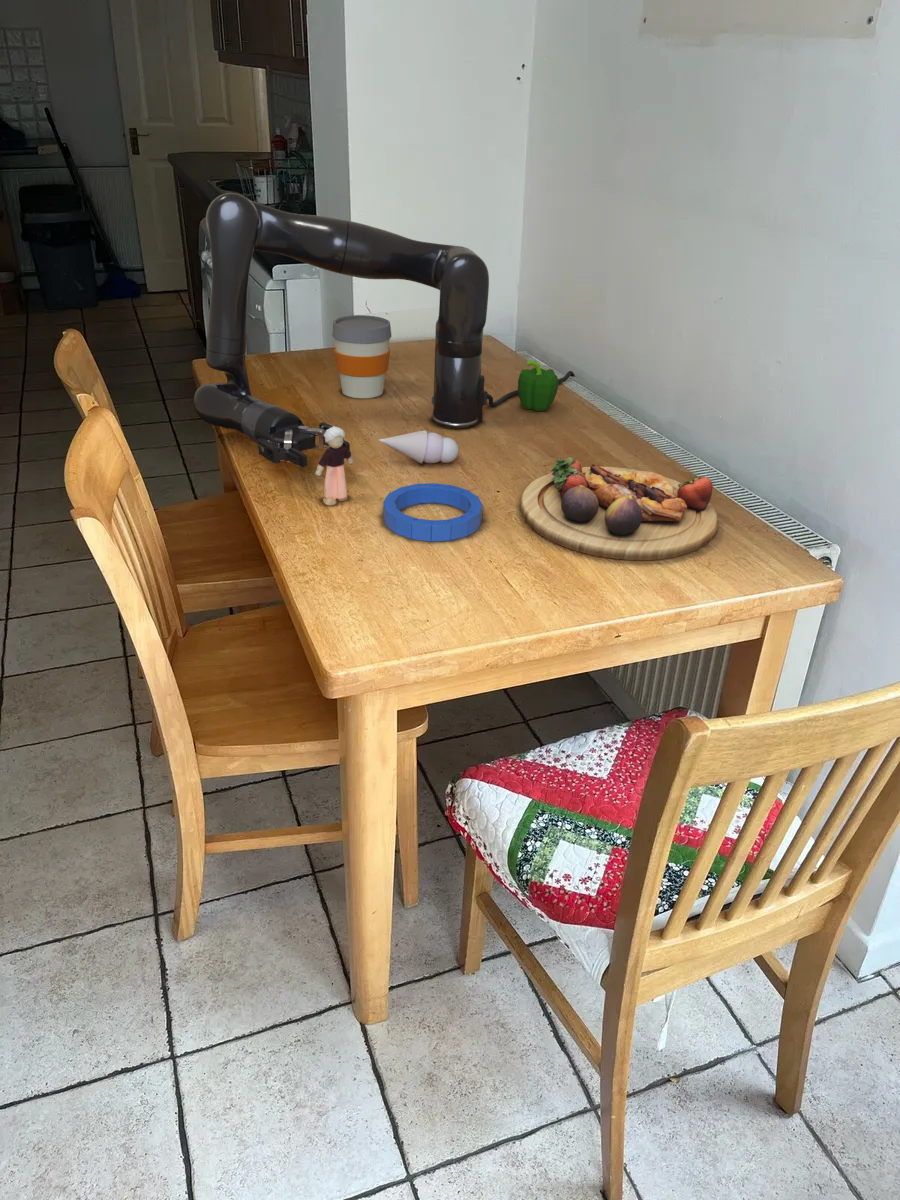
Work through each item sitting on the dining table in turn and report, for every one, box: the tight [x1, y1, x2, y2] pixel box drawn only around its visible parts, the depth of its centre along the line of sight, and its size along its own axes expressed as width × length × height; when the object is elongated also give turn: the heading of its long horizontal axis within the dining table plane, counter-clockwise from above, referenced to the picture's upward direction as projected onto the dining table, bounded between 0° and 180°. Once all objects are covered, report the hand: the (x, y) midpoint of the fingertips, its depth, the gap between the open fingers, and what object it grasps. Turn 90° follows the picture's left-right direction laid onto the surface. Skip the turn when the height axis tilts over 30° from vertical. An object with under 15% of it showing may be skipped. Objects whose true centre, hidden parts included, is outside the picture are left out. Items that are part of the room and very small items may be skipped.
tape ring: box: [382, 482, 484, 543], centre depth 145 cm, size 16×16×3 cm
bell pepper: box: [517, 360, 559, 412], centre depth 191 cm, size 8×8×10 cm
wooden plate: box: [519, 456, 719, 561], centre depth 147 cm, size 32×32×8 cm
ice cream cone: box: [377, 429, 460, 464], centre depth 164 cm, size 6×6×15 cm
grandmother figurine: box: [314, 425, 354, 506], centre depth 148 cm, size 8×4×13 cm, turn 148°
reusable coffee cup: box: [331, 314, 392, 399], centre depth 195 cm, size 13×13×15 cm
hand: (327, 455), depth 149 cm, fingers open, 8 cm apart
